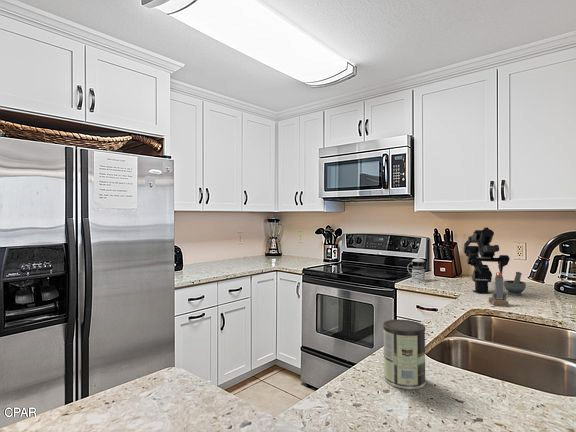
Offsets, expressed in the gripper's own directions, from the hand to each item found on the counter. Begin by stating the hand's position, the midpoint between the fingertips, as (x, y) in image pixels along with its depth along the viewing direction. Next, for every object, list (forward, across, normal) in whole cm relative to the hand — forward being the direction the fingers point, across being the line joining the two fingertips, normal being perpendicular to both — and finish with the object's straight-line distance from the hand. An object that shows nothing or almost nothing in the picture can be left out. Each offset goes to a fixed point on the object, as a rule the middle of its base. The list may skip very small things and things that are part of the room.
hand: (491, 273), depth 177 cm
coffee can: (+80, -49, -66) cm, 115 cm away
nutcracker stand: (+16, 0, +2) cm, 17 cm away
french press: (-21, -31, +42) cm, 56 cm away
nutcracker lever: (+15, 0, -1) cm, 15 cm away
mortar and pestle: (-1, +16, +21) cm, 27 cm away
